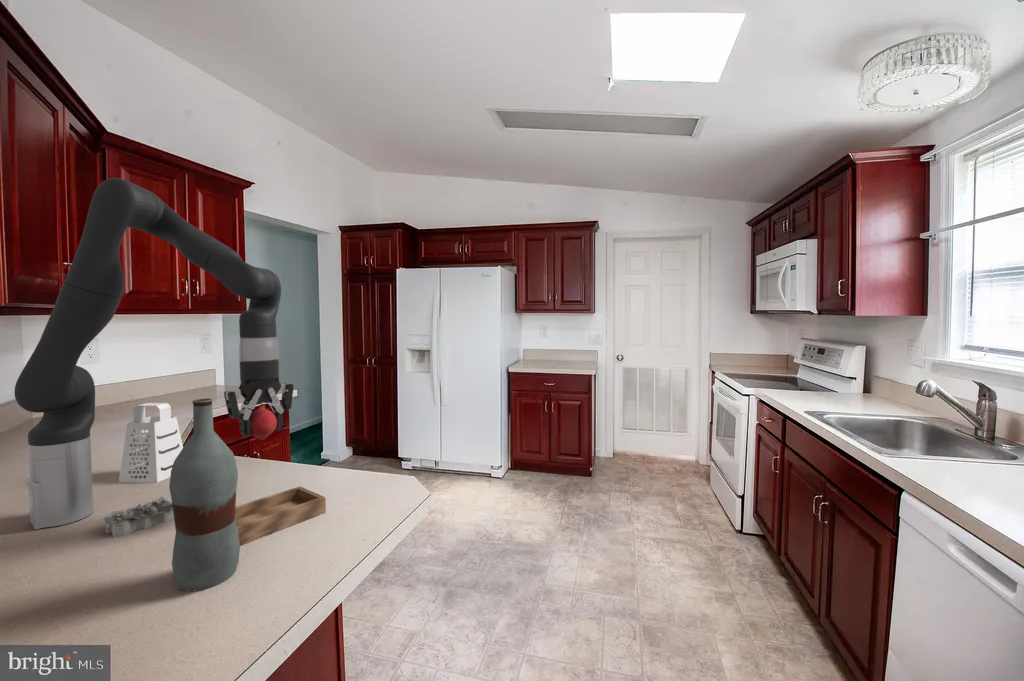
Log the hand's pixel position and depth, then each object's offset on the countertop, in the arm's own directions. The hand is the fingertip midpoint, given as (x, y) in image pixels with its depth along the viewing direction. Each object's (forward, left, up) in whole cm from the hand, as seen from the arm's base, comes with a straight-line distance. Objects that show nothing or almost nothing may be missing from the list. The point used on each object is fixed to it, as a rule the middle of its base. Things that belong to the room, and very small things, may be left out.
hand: (262, 432), depth 95 cm
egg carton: (-18, +15, -19) cm, 30 cm away
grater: (-7, +49, -18) cm, 53 cm away
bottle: (-17, -18, -18) cm, 31 cm away
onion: (0, 0, -2) cm, 2 cm away
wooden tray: (-2, -6, -18) cm, 19 cm away
